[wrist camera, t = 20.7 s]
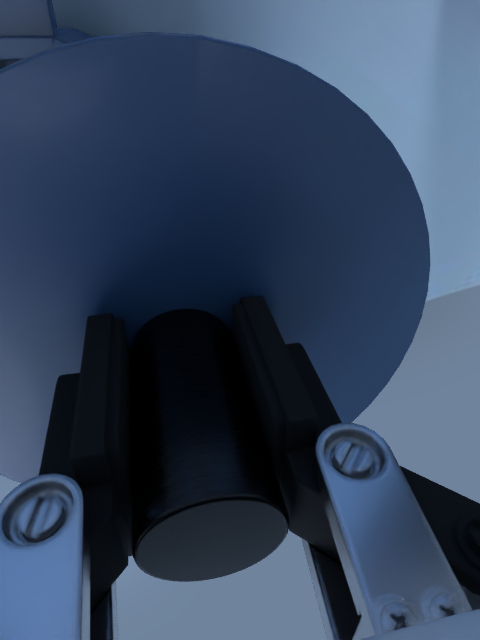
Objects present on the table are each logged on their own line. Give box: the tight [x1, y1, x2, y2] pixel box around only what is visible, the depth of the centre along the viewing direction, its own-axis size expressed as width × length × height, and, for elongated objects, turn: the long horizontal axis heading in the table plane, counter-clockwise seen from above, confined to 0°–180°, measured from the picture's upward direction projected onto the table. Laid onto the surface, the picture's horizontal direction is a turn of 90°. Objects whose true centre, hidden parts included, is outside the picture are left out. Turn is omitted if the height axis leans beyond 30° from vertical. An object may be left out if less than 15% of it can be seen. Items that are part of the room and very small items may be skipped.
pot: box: [0, 0, 93, 69], centre depth 22 cm, size 12×18×8 cm
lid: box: [0, 32, 430, 582], centre depth 9 cm, size 13×13×6 cm
